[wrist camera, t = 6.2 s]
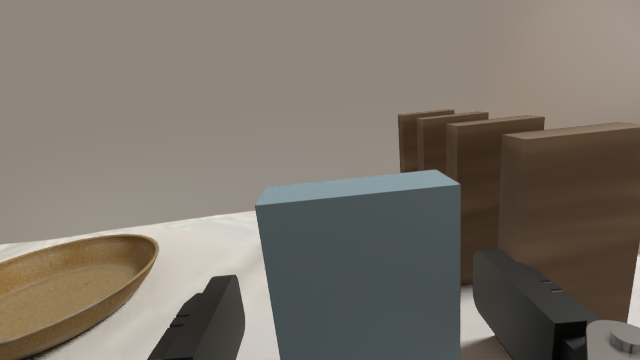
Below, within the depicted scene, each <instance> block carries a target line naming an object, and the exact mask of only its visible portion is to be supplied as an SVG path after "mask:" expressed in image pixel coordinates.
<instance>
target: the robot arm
mask: <svg viewBox="0 0 640 360" xmlns="http://www.w3.org/2000/svg"><path fill="white" fill-rule="evenodd" d="M473 298H474V302H475V305H476V308H477V310H478V312H479V313H480V315H481V316H482V317H483V319H484V320H485V321H486V323H487V324H488V325H489V327H490V328H491V329H492V331H493V332H494V333H495V335H496V336H497V337H498V339H499V340H500V341H501V343H502V344H503V345H504V347H505V348H506V349H507V351H508V352H509V354H510V355H511V356H512V358H513V359H514V360H640V328H639V327H636V326H633V325H630V324H627V323H623V322H618V321H612V320H601V319H599V318H598V317H597V316H596V315H594V314H593V313H592V312H591V311H589V310H588V309H587V308H585V307H584V306H583V305H582V304H580V303H579V302H578V301H577V300H575V299H574V298H573V297H571V296H570V295H569V294H568V293H566V292H565V291H562V289H561V288H560V287H559V286H557V285H556V284H555V283H554V282H551V280H550V279H549V278H547V277H546V276H545V275H543V274H542V273H541V272H540V271H538V270H536V269H534V268H532V267H530V266H528V265H525V264H523V263H521V262H520V263H517V262H516V261H515V260H514V259H513V258H511V257H510V256H509V255H508V254H507V253H505V252H504V251H503V250H501V249H494V250H483V251H476V252H475V253H474V257H473ZM244 331H245V314H244V308H243V303H242V298H241V293H240V287H239V282H238V278H237V276H236V275H227V276H216V277H212V278H211V280H210V281H209V283H208V285H207V286H206V288H205V290H204V291H203V293H197V294H195V295H194V296H193V297H192V298H190V299H189V300H188V301H187V302H186V303H184V304H183V306H182V308H181V309H180V311H179V312H178V314H177V315H176V318H174V320H173V321H172V323H171V324H170V328H168V329H167V330H166V332H165V333H164V335H163V336H162V338H161V339H160V341H159V342H158V344H157V345H156V347H155V348H154V350H153V351H152V353H151V354H150V356H149V357H148V359H147V360H236V357H237V354H238V351H239V348H240V345H241V341H242V338H243V335H244Z"/></svg>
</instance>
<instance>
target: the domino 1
mask: <svg viewBox="0 0 640 360" xmlns="http://www.w3.org/2000/svg"><path fill="white" fill-rule="evenodd" d="M255 209H256V215H257V221H258V227H259V233H260V239H261V245H262V251H263V258H264V264H265V270H266V276H267V282H268V288H269V294H270V300H271V306H272V312H273V318H274V324H275V330H276V336H277V342H278V348H279V354H280V360H460V226H461V184H459V183H457V182H456V181H454V180H452V179H451V178H449V177H447V176H446V175H444V174H442V173H441V172H439V171H437V170H427V171H417V172H408V173H399V174H389V175H379V176H370V177H360V178H350V179H341V180H331V181H322V182H312V183H302V184H294V185H284V186H274V187H266V188H265V190H264V191H263V193H262V195H261V196H260V198H259V200H258V201H257V203H256V205H255Z"/></svg>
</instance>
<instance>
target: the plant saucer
mask: <svg viewBox="0 0 640 360" xmlns="http://www.w3.org/2000/svg"><path fill="white" fill-rule="evenodd" d="M158 252H159V245H158V243H157V242H156V241H155V240H154V239H152V238H150V237H147V236H143V235H133V234H132V235H131V234H120V235H107V236H100V237H93V238H88V239H82V240H77V241H72V242H68V243H64V244H60V245H56V246H52V247H48V248H45V249H41V250H38V251H34V252H31V253H28V254H24V255H21V256H18V257H15V258H12V259H9V260H6V261H4V262H1V263H0V360H20V359H24V358H26V357H29V356H32V355H35V354H37V353H40V352H42V351H45V350H47V349H50V348H52V347H54V346H56V345H59V344H61V343H63V342H65V341H67V340H69V339H71V338H73V337H75V336H77V335H79V334H81V333H83V332H84V331H86V330H88V329H90V328H91V327H93V326H95V325H96V324H98V323H99V322H101V321H102V320H104V319H105V318H107V317H108V316H110V315H111V314H112V313H114V312H115V311H116V310H117V309H119V308H120V307H121V306H122V305H123V304H124V303H125V302H126V301H127V300H128V299H129V298H130V297H131V296H132V295H133V294H134V292H135V291H136V290H137V289H138V287H139V286H140V285H141V283H142V282H143V281H144V279H145V278H146V276H147V275H148V273H149V272H150V270H151V268H152V266H153V264H154V262H155V260H156V257H157V255H158Z"/></svg>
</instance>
